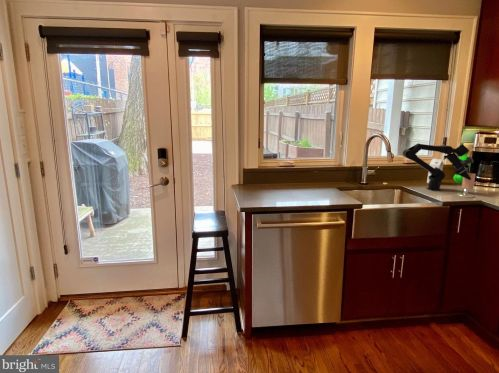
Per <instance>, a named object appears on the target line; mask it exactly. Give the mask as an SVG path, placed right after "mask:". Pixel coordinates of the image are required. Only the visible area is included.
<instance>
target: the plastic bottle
mask: <svg viewBox="0 0 499 373" xmlns="http://www.w3.org/2000/svg"><path fill="white" fill-rule="evenodd" d="M468 154H469V152H468V153H466V154H465V155H463V156H462V157H460V156H459V159H462V160H466V158H467V157H469V156H468ZM471 164H472V163H471ZM471 164H470V163H469V165H470V166H471ZM470 166H469V167H470ZM469 167H468V168H469ZM459 174H460V173H459ZM452 180H453V181H454V182H455V183H456V184H461V185H462V181H463V177H462V176H460V175H457V174H456V173H455V174H454V175H453V179H452Z"/></svg>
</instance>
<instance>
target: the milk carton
mask: <svg viewBox="0 0 499 373" xmlns="http://www.w3.org/2000/svg"><path fill="white" fill-rule="evenodd" d="M429 165H430V166H431V167H433V168H434V169H435V167H437V168H439V169H440V170H441V171H443V168H444V162H443V159H442V158H441V159H440V158H432V159H431V161H430V163H429ZM427 172H428V173H427V178H426V179H427V180H426V183H427V184H429V176H430V175H431V174H430V172H429V171H427Z"/></svg>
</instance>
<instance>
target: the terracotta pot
mask: <svg viewBox="0 0 499 373" xmlns="http://www.w3.org/2000/svg"><path fill="white" fill-rule="evenodd" d="M468 174H469V176H470V178H471V180H468V179H466V178H464V177H463V181H462V184H461V188H462V189H464V188H467V189H469V190H473V189H474V186H475V181H476V173H471V172H470V173H468Z"/></svg>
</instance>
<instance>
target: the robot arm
mask: <svg viewBox="0 0 499 373" xmlns="http://www.w3.org/2000/svg"><path fill="white" fill-rule="evenodd" d="M421 150H424V151H431V152H432V151H433V152H438V153H440V154H444V155H443V159H442V161H444V160H446V159H447V160H448V161H449V163H450V164H451V166H452V167H454V168H455V172H454V173H455V174H457V175H460V176H462V177H464V178H466V179H468V180H471V178H470V176H469V174H468V173H471V171H470V168H471V167H470V166H471V165H469V163H470V164H474V160H473V157H470V156H468V157H467V158H466V160H462V159H459V157H462V156H463V155H465V154H466V153H468V154H469V153H470V150H469V148H468V147H466V145H464V144H462V143H461V144H460V145H459V146H457V147H456V148H454V147H453V146H451V145H447V144H446V145H445V144H443V145H432V144H423V143H420V142H419V143H416V144H414V145H413V146H411V147H409V148H407V149H405V150H403V151H402V156H403V157H404V158H405V159H409V161H413V162H414V163H415V164H417V165H419V166H420V167H421V168H423V169H424V170H426V171H427V172H430V174H431V175H430V176H429V183H428V186H427V187H426V189H428V190H430V191H441V183H442V182H443V180H444V179H445V178H446V173H445V171H444V170H442V171H441V170H440V169H439V168H437V167H435V169H434V168H433V167H431V166H430V163H427V162H426V161H424V160H422V159H421V158H420V157H419V156H418V155H417V154H418V153H419V152H420V151H421ZM468 167H469V168H468ZM459 173H460V174H459Z"/></svg>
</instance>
